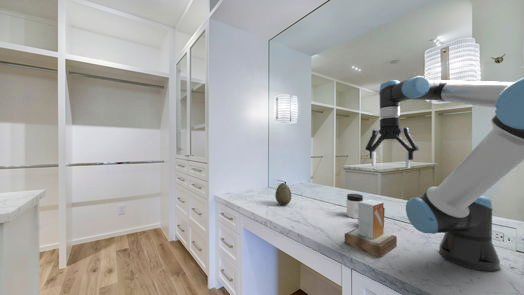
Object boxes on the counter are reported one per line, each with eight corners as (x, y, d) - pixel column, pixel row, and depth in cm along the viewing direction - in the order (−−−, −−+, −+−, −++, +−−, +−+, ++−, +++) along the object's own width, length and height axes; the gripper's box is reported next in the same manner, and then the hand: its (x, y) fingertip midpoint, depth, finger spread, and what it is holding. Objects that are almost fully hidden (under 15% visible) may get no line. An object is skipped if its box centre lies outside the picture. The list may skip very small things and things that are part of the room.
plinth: (396, 246, 84) (396, 235, 84) (380, 257, 75) (380, 245, 75) (362, 234, 95) (361, 225, 95) (344, 243, 86) (344, 233, 86)
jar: (349, 218, 116) (349, 196, 116) (344, 213, 124) (344, 193, 124) (366, 218, 115) (366, 196, 115) (360, 214, 123) (360, 193, 123)
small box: (373, 239, 80) (373, 205, 80) (357, 234, 85) (357, 202, 85) (384, 234, 84) (383, 202, 84) (368, 229, 90) (368, 199, 90)
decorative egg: (276, 202, 149) (275, 181, 149) (291, 203, 148) (291, 181, 148) (274, 207, 139) (274, 184, 139) (291, 207, 137) (291, 184, 137)
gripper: (427, 115, 84) (428, 168, 84) (365, 121, 104) (365, 164, 104) (421, 113, 79) (421, 169, 79) (357, 120, 99) (357, 165, 99)
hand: (390, 166), depth 92 cm, fingers open, 13 cm apart
